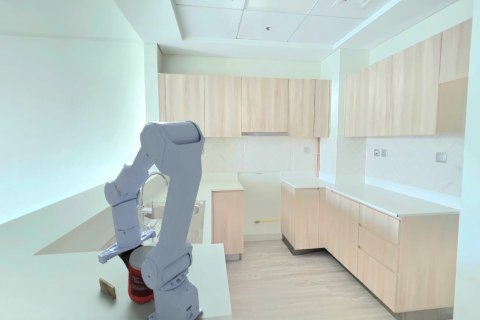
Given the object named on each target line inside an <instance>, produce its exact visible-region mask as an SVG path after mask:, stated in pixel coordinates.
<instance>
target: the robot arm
mask: <svg viewBox="0 0 480 320" xmlns="http://www.w3.org/2000/svg"><path fill="white" fill-rule="evenodd" d="M139 140H140V141H139V142H140V147H139V150H138V152H137V154H136V156H135V157H134V159H133V161H129V162H125V163H124V165H123V166H122V169H121V170H120V172H119V174H118V175H117V177H116V178H115V180H113V181H107V182H105V185H104V188H103V191H104V197H105V199H106V202H107V203H108V205H110V207H111V208H110V209H111V213H112V221H113V227H114V235H115V241H116V242H115V243H113V244H112V245H110V246H109V247H108V248H107V249H105V250H104V251H102V252H100V253H98V254H97V257H98V258H97V259H98V262H99V263H100V264H102V265H104V264H106V263H108V261H109V260H111V259H113V258H114V257H117V256H118V257H119V258H120V259H121V261H122V262H123V264H124V265H125V268H127V269H126V270H127V272H128V273H129V259H130V255H131V253H132V252H133V251H134V250H135V249H137V248H139V247H142V246H144V245H142V244H143V243H144V242H146V241H148V240H150V239H155V238H156V235H157V234H156V230H155V229H152V228H150V229H148V230H145V231H142V232H141V227H140V219H139V218H140V217H139V211H138V206H139V205H140V196H141V188H142V187H143V185H144V184H145V183H146V182H147V181H148V179H149V177H150V172H149V170H150V169H151V168H152V167H153V166H154V165H155V167H156V168H157V170H158V171H159V173H161V175H165V176H168V177H169V183H168V188H167V193H166V198H165V203H164V209H163V214H162V219H161V226H160V231H159V235H158V236H159V237H158V241H157V243H156V244H155V245H153V246H154V247H153V248H152V249H151V250H150V252H149V253H148V254H147V256H146V260H145V261H144V262H143V264H142V268H141V274H142V278H143V280H144V282H145V284H146V285H147V286H148V287H149V288H150V289H152V290H153V292H154V299H153V300H154V305H155V310H154V311H152V312H151V313H150V315H148V316H147V318H148V320H196V318H197V317H199V315H201V313H202V312H203V309H202V307H200V303H199V299H200V298H199V290H198V288H197V287H196V285H195V284H193V283H192V282H190V280H189V279H188V277H187V276H188V274H189V268H190V267H191V266H192V265H193V262H194V261H193V260H194V259H193V254H192V253H193V245H192V244H191V242H190V241H189V240H188V239H187V238H188V233H189V231H190V230H189V229H190V225H191V222H192V218H193V213H194V209H195V205H196V201H197V196H198V194H199V193H198V191H199V189H200V184H201V180H202V174H203V169H202V167H203V166H202V155H203V151H204V148H205V147H204V146H205V142H206V138H205V137H204V134H203V132H202V130H201V129H200V126H199V125H198V124H197V123H196V122H195V121H192V120H184V121H159V122H158V121H147V123H145V124H144V125H143V128H142V131H141V132H140V133H139Z"/></svg>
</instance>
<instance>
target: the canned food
mask: <svg viewBox="0 0 480 320" xmlns="http://www.w3.org/2000/svg"><path fill="white" fill-rule="evenodd" d="M154 246H155V245H143V246H142V247H139V248H137V249H135V250H134V251H133V252H132V253H131V255H130V259H129V272H128V275H127V276H128V282H127V294H128V296H129V299H130V300H131V301H132V302H134V303H136V304H146V303H149V302H151V301H152V300H154V292H153V290H152V289H150V288H149V287H148V286H147V285H146V284H145V282H144V280H143V278H142V274H141V268H142V264H143V262H144V261H145V260H146V256H147V254H148V253H149V252H150V250H151V249H152V248H153V247H154Z"/></svg>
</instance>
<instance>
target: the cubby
mask: <svg viewBox="0 0 480 320" xmlns="http://www.w3.org/2000/svg"><path fill="white" fill-rule="evenodd" d="M98 282H99V287H100V290H101V291H103V292H104V293H106V294H108V295H109V296H110V297H111V298H113V299H116V298H117V293H116V288H115V287H116V286H114V285H113V284H111V283H110V282H108V281H106V280H105V279H103V278H102V277H100V278H99V279H98Z"/></svg>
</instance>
